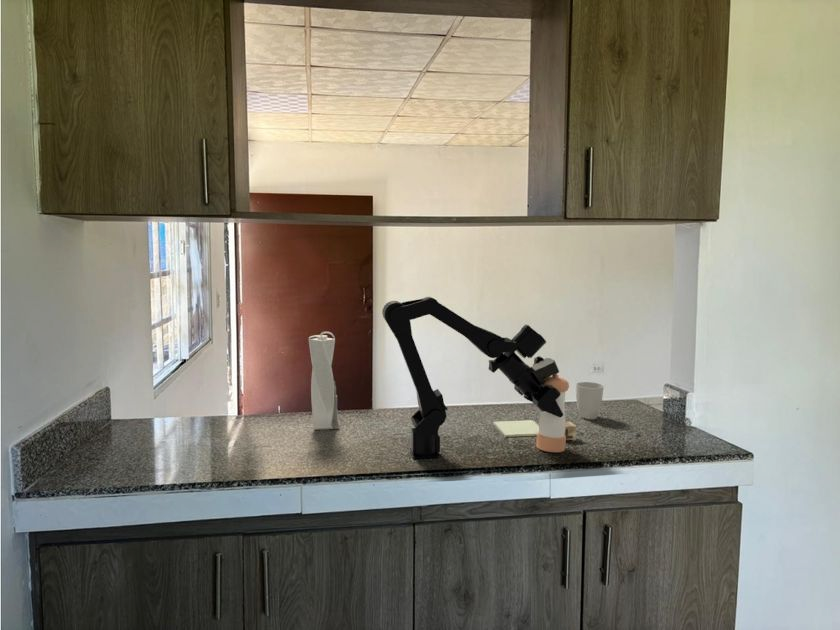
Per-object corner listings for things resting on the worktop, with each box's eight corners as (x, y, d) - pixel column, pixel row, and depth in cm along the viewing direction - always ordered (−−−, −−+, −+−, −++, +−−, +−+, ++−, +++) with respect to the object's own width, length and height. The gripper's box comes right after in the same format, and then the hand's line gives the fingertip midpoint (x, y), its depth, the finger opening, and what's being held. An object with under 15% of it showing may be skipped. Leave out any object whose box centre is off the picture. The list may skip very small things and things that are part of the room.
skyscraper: (339, 431, 156) (338, 332, 153) (310, 432, 155) (308, 332, 152) (337, 422, 165) (336, 327, 162) (309, 423, 163) (308, 328, 160)
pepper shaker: (531, 443, 147) (536, 371, 145) (557, 442, 148) (562, 371, 146) (543, 452, 140) (548, 377, 138) (570, 452, 141) (575, 377, 139)
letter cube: (561, 441, 149) (562, 427, 149) (555, 436, 153) (556, 422, 153) (576, 440, 150) (576, 426, 150) (569, 435, 154) (570, 421, 154)
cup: (590, 412, 177) (591, 381, 176) (607, 419, 169) (609, 387, 168) (569, 414, 174) (570, 383, 173) (585, 422, 166) (587, 389, 165)
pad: (505, 436, 152) (505, 434, 152) (493, 423, 164) (493, 421, 164) (547, 435, 154) (547, 433, 154) (532, 422, 166) (532, 420, 166)
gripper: (553, 355, 131) (595, 399, 134) (526, 342, 150) (564, 382, 152) (520, 388, 131) (563, 432, 134) (497, 372, 149) (535, 411, 152)
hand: (557, 412), depth 143 cm, fingers open, 6 cm apart
